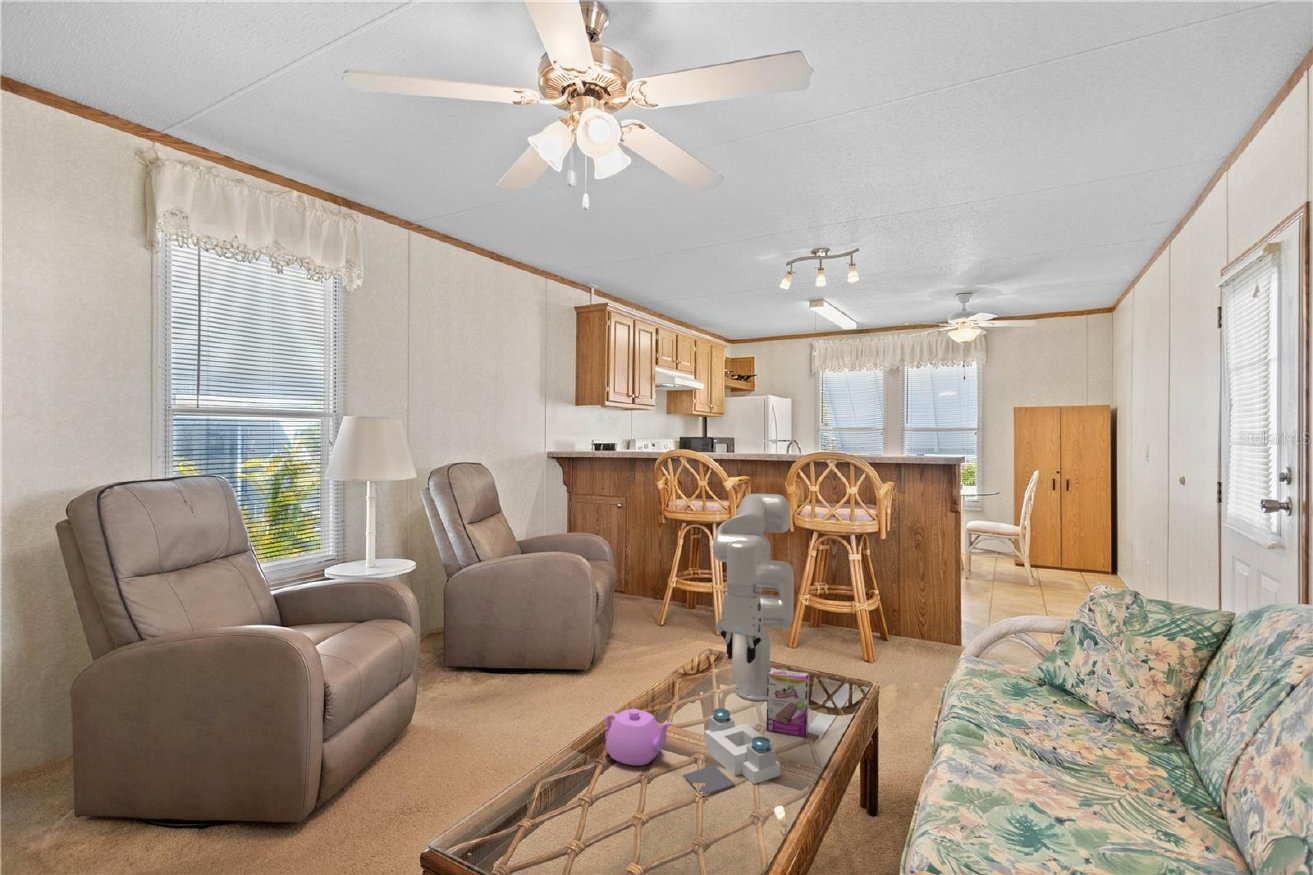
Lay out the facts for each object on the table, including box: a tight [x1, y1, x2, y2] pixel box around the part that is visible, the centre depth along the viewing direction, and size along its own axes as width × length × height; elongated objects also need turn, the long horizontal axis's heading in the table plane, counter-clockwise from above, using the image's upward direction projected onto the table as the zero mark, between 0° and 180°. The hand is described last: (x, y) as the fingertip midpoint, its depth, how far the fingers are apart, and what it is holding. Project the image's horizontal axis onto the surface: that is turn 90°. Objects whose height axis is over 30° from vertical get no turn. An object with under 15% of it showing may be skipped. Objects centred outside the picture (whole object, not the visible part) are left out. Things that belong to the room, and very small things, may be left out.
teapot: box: [604, 708, 673, 767], centre depth 158 cm, size 20×13×12 cm, turn 62°
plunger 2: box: [752, 736, 771, 754], centre depth 150 cm, size 4×4×5 cm
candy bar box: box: [766, 667, 810, 738], centre depth 171 cm, size 11×5×16 cm, turn 71°
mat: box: [682, 764, 736, 795], centre depth 147 cm, size 9×9×1 cm
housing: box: [703, 715, 781, 785], centre depth 157 cm, size 22×12×6 cm, turn 28°
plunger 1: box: [712, 707, 731, 723], centre depth 165 cm, size 4×4×5 cm
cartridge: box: [731, 627, 750, 685], centre depth 157 cm, size 5×5×15 cm
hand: (741, 658), depth 157 cm, fingers closed on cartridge, 4 cm apart
